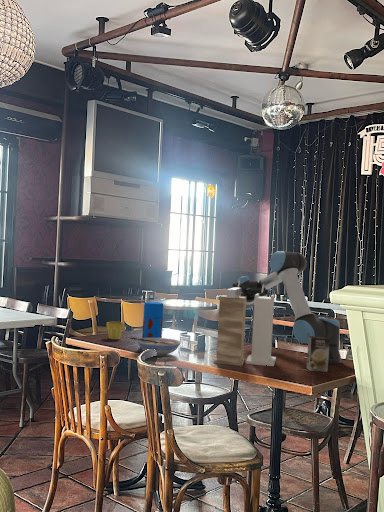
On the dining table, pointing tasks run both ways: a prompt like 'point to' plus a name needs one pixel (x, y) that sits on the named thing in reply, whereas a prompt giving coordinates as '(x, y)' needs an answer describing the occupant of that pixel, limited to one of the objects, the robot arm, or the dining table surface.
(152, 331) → the blue carton
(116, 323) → the plant pot
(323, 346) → the coffee box
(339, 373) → the dining table surface
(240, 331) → the oak stand
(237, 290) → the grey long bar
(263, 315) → the post
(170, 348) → the ramen bowl
